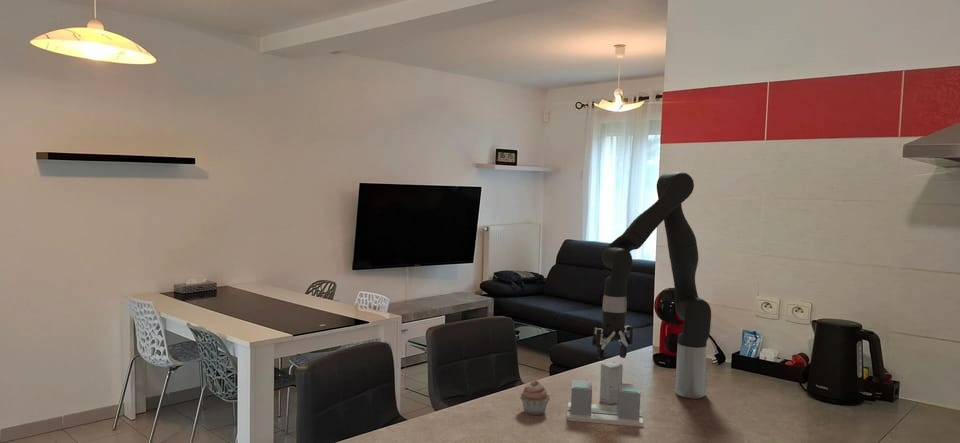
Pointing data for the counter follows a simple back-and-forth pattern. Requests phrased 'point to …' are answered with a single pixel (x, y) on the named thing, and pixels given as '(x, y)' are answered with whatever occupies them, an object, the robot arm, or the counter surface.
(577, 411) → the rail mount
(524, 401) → the cupcake
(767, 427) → the counter surface
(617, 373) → the skincare box
